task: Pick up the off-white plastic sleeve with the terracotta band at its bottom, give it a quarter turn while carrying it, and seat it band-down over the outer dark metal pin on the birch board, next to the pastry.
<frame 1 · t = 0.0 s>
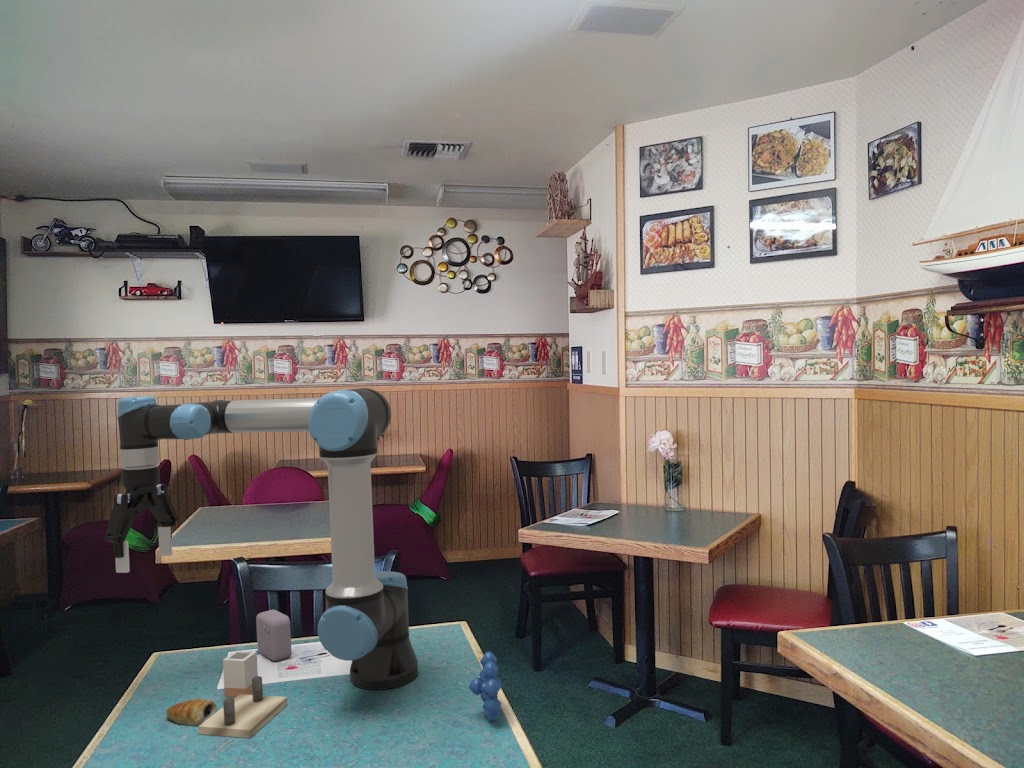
hand: (145, 563, 163), 28 cm above the table, fingers open, 13 cm apart
pin board: (244, 718, 148), on the table
grapes: (486, 716, 146), on the table
electronic device: (273, 656, 181), on the table
pastry: (192, 720, 149), on the table
sleeve: (241, 692, 161), on the table
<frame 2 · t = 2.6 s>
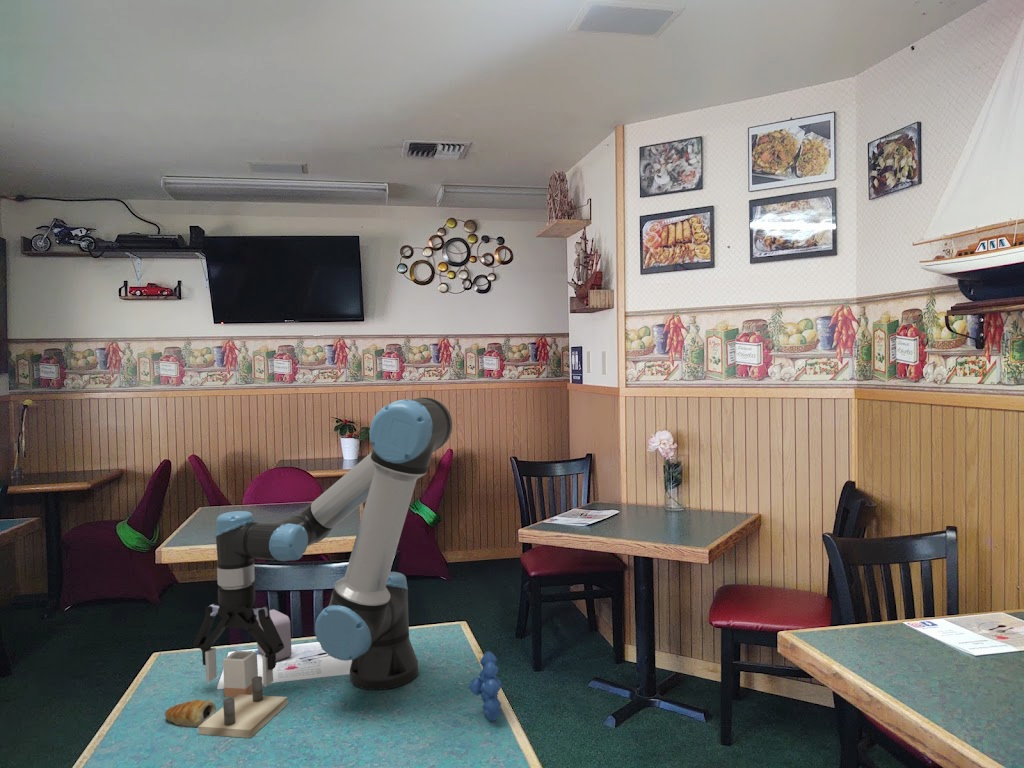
hand: (239, 681, 161), 2 cm above the table, fingers open, 13 cm apart
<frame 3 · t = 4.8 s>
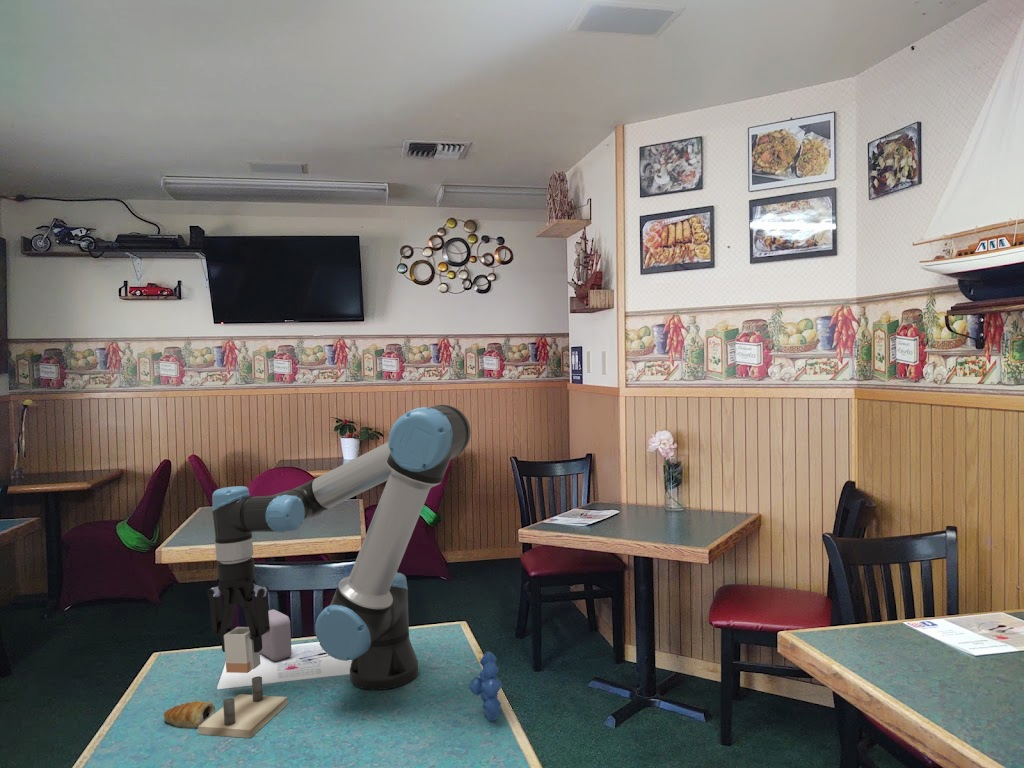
hand: (243, 666, 160), 6 cm above the table, fingers closed on sleeve, 5 cm apart
sleeve: (243, 667, 160), point 5 cm above the table, touching gripper
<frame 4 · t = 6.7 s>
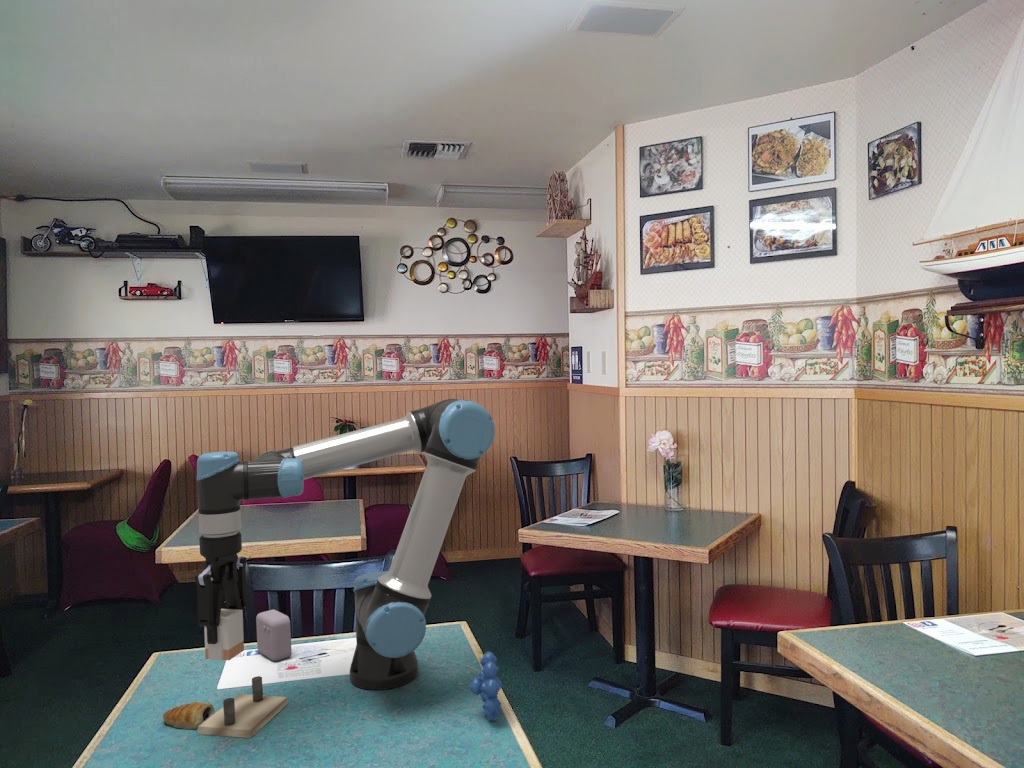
hand: (225, 653, 143), 15 cm above the table, fingers closed on sleeve, 5 cm apart
sleeve: (225, 654, 143), point 15 cm above the table, touching gripper
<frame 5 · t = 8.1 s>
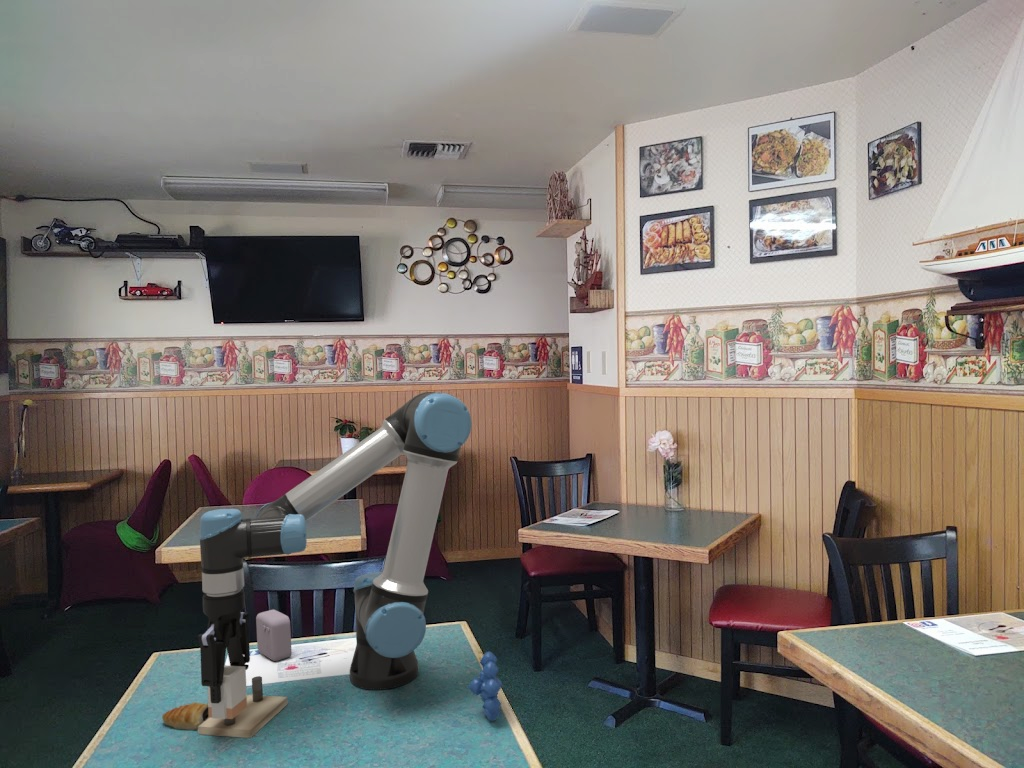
hand: (228, 710, 143), 4 cm above the table, fingers closed on sleeve, 5 cm apart
sleeve: (228, 712, 143), point 4 cm above the table, touching gripper
when the fingers open (3 cm above the table, at t = 9.0 s): sleeve stays where it is, resting on pin board.
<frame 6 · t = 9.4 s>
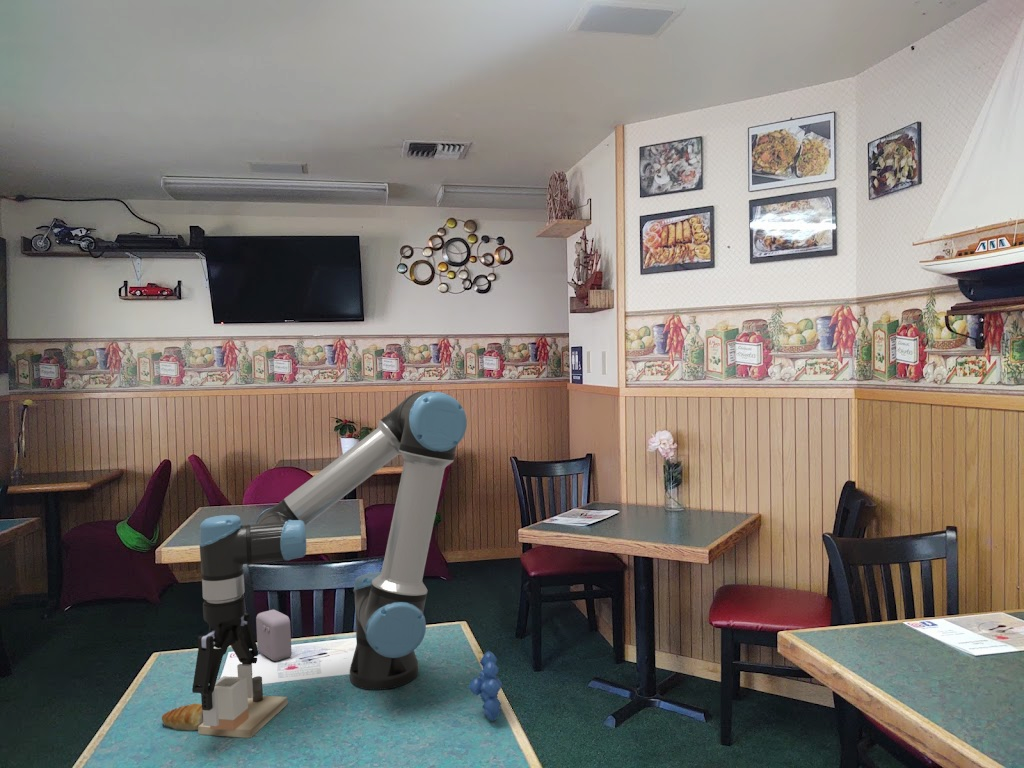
hand: (229, 710, 143), 4 cm above the table, fingers open, 11 cm apart
sleeve: (229, 723, 143), point 1 cm above the table, touching pin board
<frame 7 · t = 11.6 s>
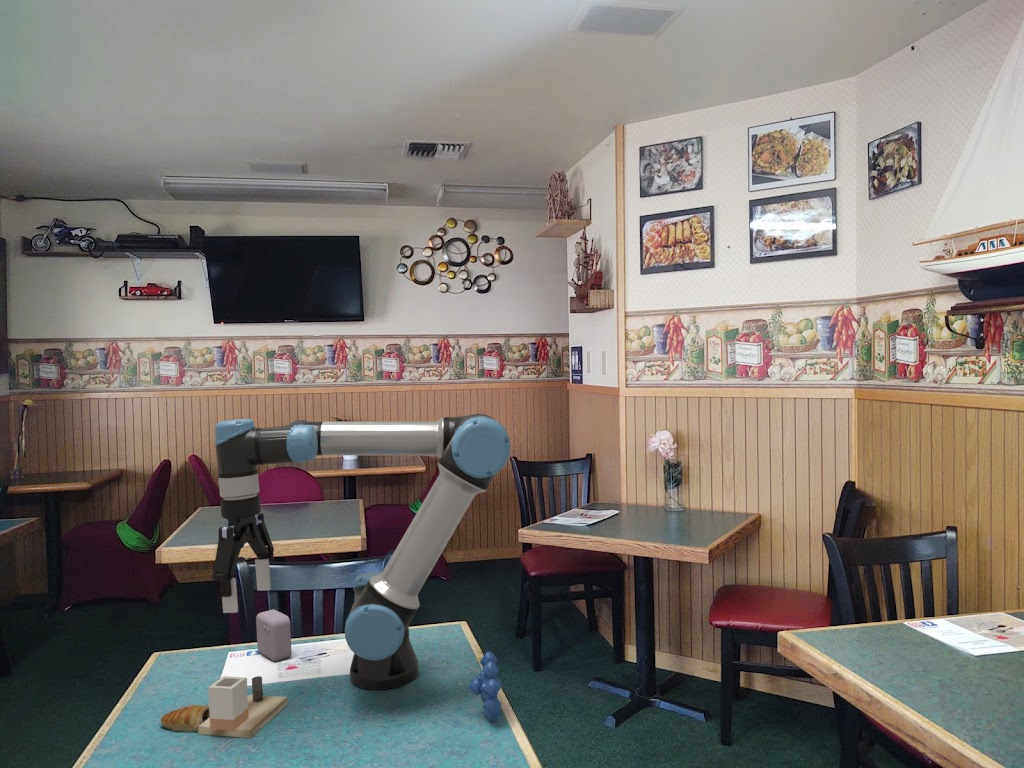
hand: (248, 600, 150), 23 cm above the table, fingers open, 13 cm apart
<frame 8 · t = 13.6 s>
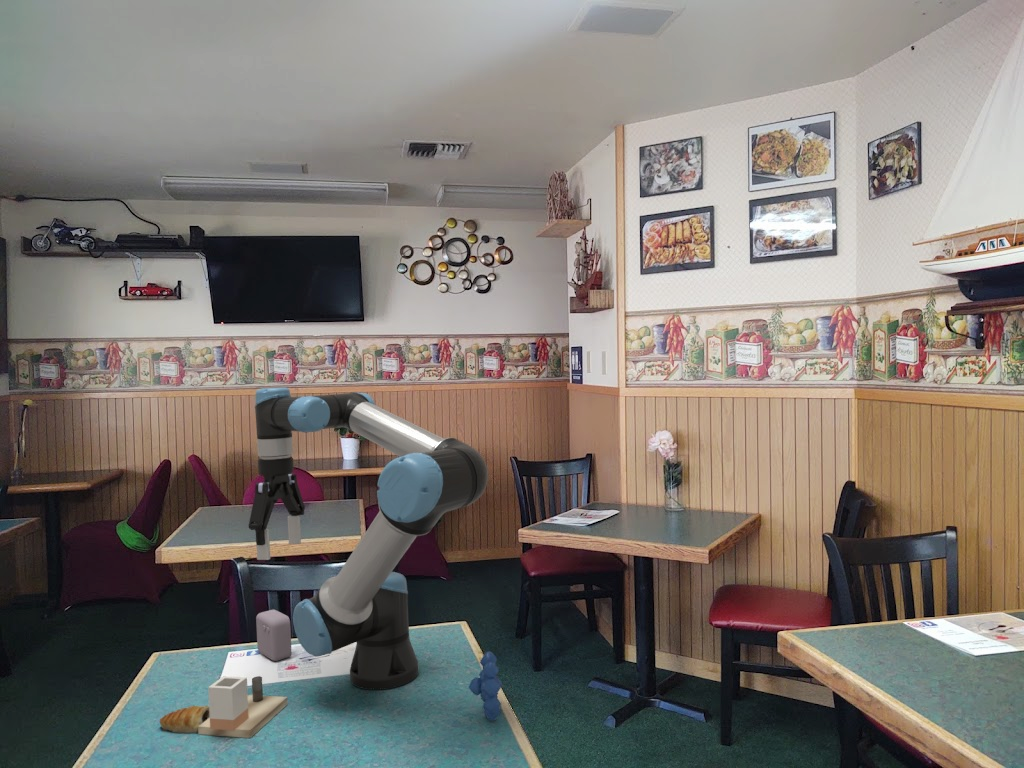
hand: (279, 551, 166), 29 cm above the table, fingers open, 13 cm apart
at the end: sleeve 0.0 cm from the target spot on the pin board, point 1.5 cm above the pin board's base; sleeve tilted 0°; the gripper is holding nothing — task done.
